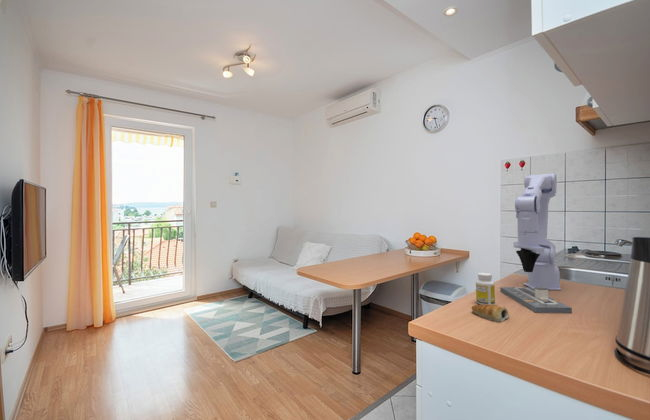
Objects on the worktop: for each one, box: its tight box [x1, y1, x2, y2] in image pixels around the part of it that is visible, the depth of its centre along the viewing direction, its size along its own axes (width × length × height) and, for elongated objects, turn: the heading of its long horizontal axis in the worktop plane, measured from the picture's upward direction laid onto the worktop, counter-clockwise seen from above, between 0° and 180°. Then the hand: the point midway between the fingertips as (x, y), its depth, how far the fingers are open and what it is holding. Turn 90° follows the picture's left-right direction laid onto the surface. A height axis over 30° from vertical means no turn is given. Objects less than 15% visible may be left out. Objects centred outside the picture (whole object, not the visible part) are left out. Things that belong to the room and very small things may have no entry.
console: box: [499, 286, 573, 314], centre depth 100 cm, size 10×22×2 cm, turn 174°
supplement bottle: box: [475, 272, 496, 305], centre depth 99 cm, size 5×5×10 cm
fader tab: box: [534, 287, 550, 302], centre depth 95 cm, size 3×3×4 cm
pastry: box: [471, 304, 510, 323], centre depth 88 cm, size 9×7×4 cm
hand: (528, 271), depth 102 cm, fingers closed
